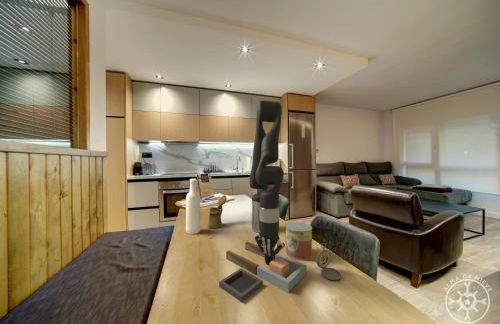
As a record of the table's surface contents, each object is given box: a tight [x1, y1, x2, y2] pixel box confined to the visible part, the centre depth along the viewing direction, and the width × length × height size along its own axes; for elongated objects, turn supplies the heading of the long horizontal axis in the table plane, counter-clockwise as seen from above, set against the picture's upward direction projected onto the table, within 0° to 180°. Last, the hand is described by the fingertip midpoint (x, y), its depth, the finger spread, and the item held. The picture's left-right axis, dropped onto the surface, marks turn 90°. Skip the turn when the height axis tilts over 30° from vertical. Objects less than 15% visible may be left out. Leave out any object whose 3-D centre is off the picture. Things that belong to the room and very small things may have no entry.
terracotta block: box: [268, 258, 290, 278], centre depth 67 cm, size 5×5×4 cm
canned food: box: [284, 221, 313, 261], centre depth 81 cm, size 11×11×12 cm
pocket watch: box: [315, 242, 343, 281], centre depth 67 cm, size 8×8×10 cm
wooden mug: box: [207, 194, 227, 230], centre depth 116 cm, size 9×14×18 cm, turn 143°
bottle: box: [185, 178, 201, 235], centre depth 105 cm, size 8×8×30 cm
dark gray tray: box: [218, 268, 264, 303], centre depth 60 cm, size 10×10×2 cm
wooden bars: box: [225, 241, 275, 276], centre depth 76 cm, size 13×16×3 cm
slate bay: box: [256, 253, 308, 293], centre depth 66 cm, size 13×12×3 cm
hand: (268, 264), depth 70 cm, fingers closed
